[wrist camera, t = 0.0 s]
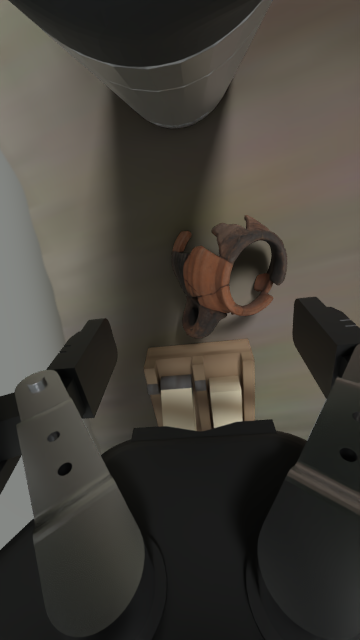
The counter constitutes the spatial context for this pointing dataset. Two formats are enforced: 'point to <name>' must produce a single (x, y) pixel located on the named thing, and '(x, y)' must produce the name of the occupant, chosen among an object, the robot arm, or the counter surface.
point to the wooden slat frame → (207, 379)
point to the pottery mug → (223, 275)
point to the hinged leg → (178, 402)
